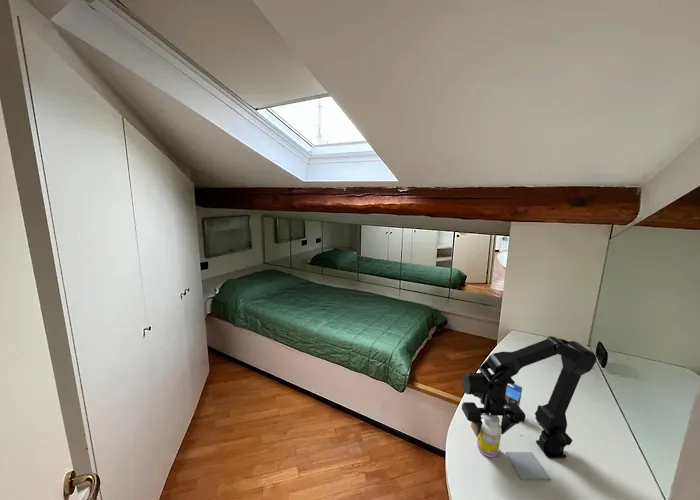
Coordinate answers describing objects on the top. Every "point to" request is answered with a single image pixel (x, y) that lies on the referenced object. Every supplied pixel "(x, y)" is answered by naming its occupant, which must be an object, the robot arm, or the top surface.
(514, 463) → the slate pad
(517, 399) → the label tape cartridge
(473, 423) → the walnut block
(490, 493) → the top surface
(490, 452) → the supplement bottle
